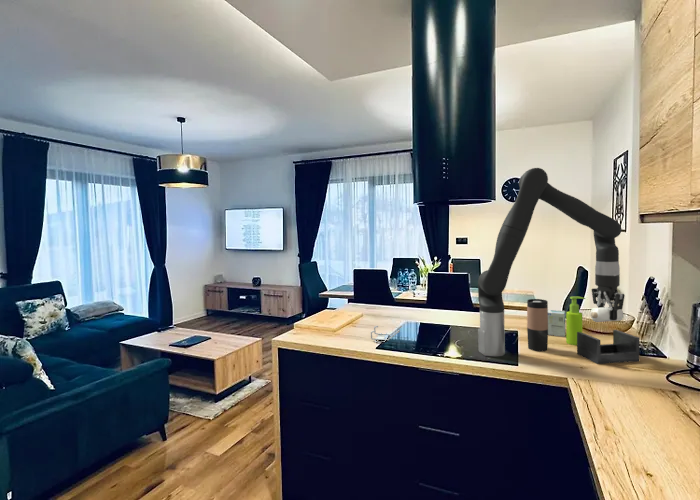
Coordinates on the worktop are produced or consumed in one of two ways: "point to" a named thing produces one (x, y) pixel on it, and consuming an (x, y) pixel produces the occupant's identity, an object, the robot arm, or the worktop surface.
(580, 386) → the worktop surface
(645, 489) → the worktop surface
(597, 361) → the holder
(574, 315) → the soap dispenser
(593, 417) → the worktop surface
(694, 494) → the worktop surface
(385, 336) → the wall mount rack
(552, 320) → the light bulb box
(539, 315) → the travel mug
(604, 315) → the kitchen roll
